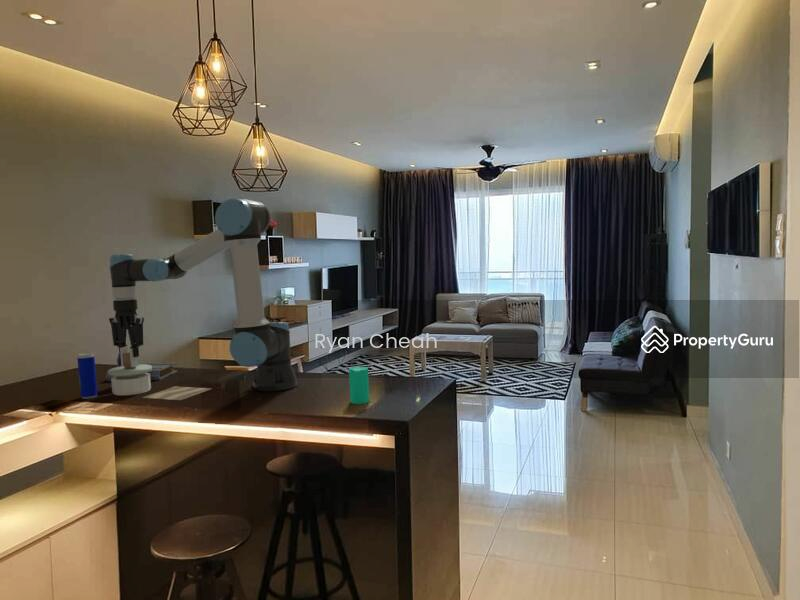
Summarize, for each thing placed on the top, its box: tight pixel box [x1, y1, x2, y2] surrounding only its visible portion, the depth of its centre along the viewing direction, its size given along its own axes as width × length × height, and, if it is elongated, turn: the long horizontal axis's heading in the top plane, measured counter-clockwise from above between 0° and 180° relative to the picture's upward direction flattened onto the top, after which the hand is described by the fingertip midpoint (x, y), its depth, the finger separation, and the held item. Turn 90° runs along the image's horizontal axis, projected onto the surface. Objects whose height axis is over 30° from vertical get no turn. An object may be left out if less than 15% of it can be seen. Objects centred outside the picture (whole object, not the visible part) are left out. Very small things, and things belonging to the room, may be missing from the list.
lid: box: [107, 351, 152, 376], centre depth 208 cm, size 14×14×7 cm
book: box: [105, 361, 178, 382], centre depth 237 cm, size 21×16×5 cm
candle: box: [348, 363, 370, 405], centre depth 185 cm, size 6×6×12 cm
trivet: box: [141, 385, 213, 401], centre depth 203 cm, size 16×16×1 cm
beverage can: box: [76, 352, 98, 400], centre depth 204 cm, size 5×5×15 cm
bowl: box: [110, 373, 152, 396], centre depth 209 cm, size 12×12×6 cm
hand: (130, 365), depth 208 cm, fingers closed on lid, 3 cm apart
